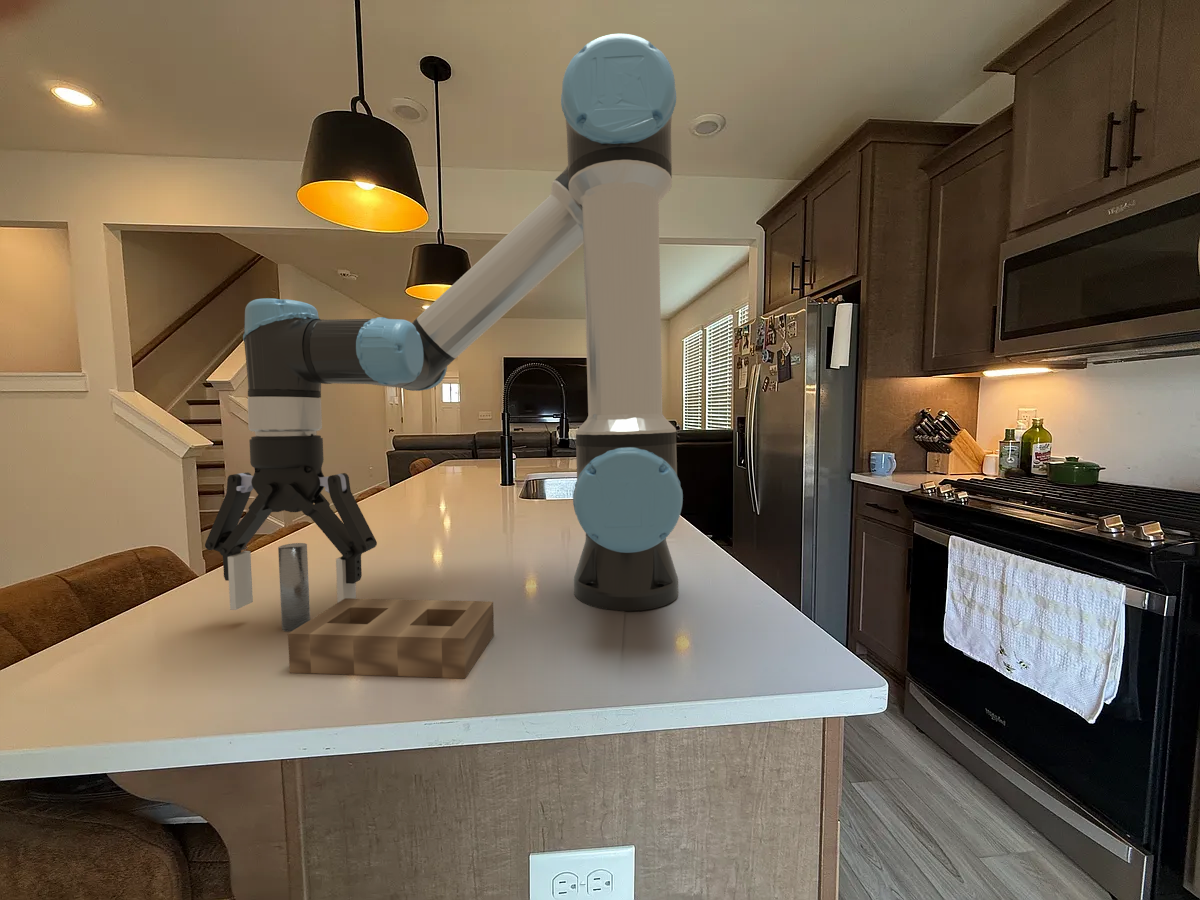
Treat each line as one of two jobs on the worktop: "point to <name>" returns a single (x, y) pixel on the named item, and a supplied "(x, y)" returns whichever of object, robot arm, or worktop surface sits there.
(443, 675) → the socket block
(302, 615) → the peg
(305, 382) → the robot arm
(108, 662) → the worktop surface
